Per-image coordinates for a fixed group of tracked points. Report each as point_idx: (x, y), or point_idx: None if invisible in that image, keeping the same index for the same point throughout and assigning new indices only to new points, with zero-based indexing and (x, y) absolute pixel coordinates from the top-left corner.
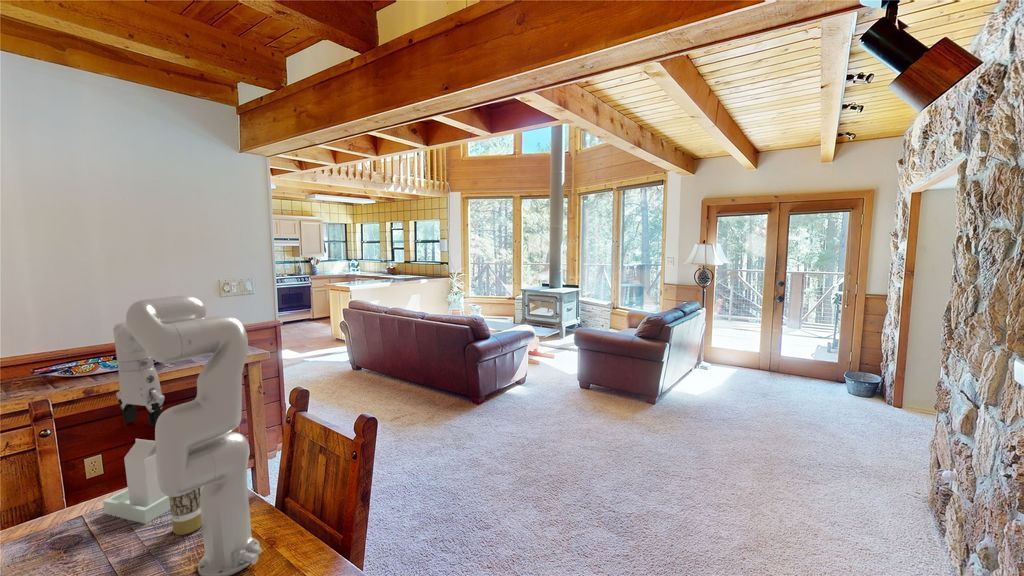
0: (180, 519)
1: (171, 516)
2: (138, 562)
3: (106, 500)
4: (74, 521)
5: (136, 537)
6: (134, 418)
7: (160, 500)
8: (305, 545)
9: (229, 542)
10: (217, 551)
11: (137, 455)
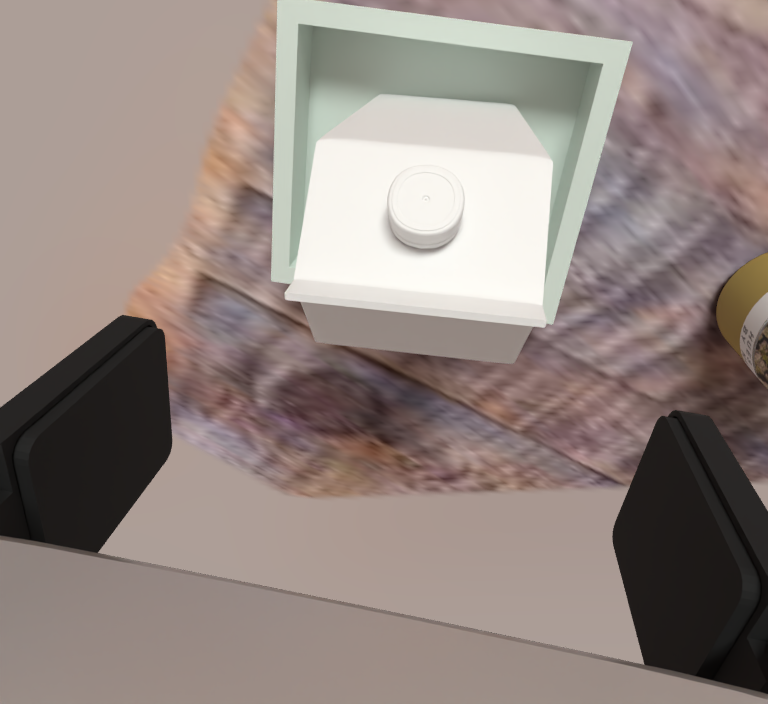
0: None
1: (759, 379)
2: None
3: (283, 275)
4: (222, 310)
5: (577, 367)
6: (156, 372)
7: (567, 247)
8: None
9: None
10: None
11: (423, 343)
